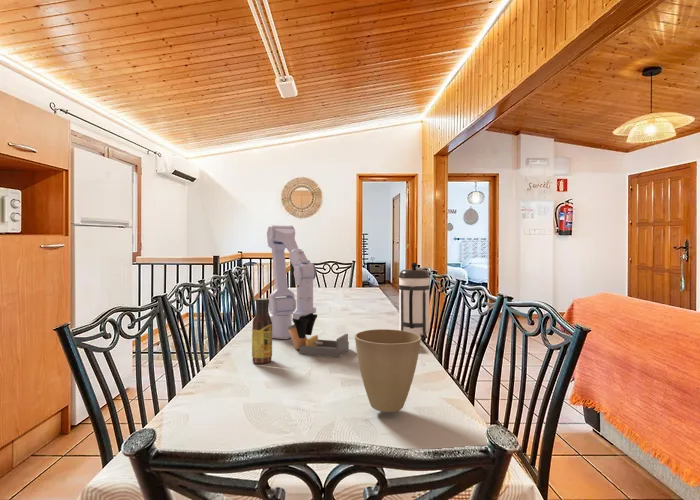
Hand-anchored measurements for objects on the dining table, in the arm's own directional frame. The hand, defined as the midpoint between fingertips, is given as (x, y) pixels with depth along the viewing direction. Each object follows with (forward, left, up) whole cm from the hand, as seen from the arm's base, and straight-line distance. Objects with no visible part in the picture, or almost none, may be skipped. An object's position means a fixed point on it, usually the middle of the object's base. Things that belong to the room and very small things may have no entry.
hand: (305, 336), depth 137 cm
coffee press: (+33, +32, -5) cm, 46 cm away
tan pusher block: (+3, 0, -5) cm, 5 cm away
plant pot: (+39, -38, -5) cm, 55 cm away
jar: (-1, 0, -4) cm, 4 cm away
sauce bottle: (-7, -17, -5) cm, 19 cm away
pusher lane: (+7, 0, -5) cm, 9 cm away
